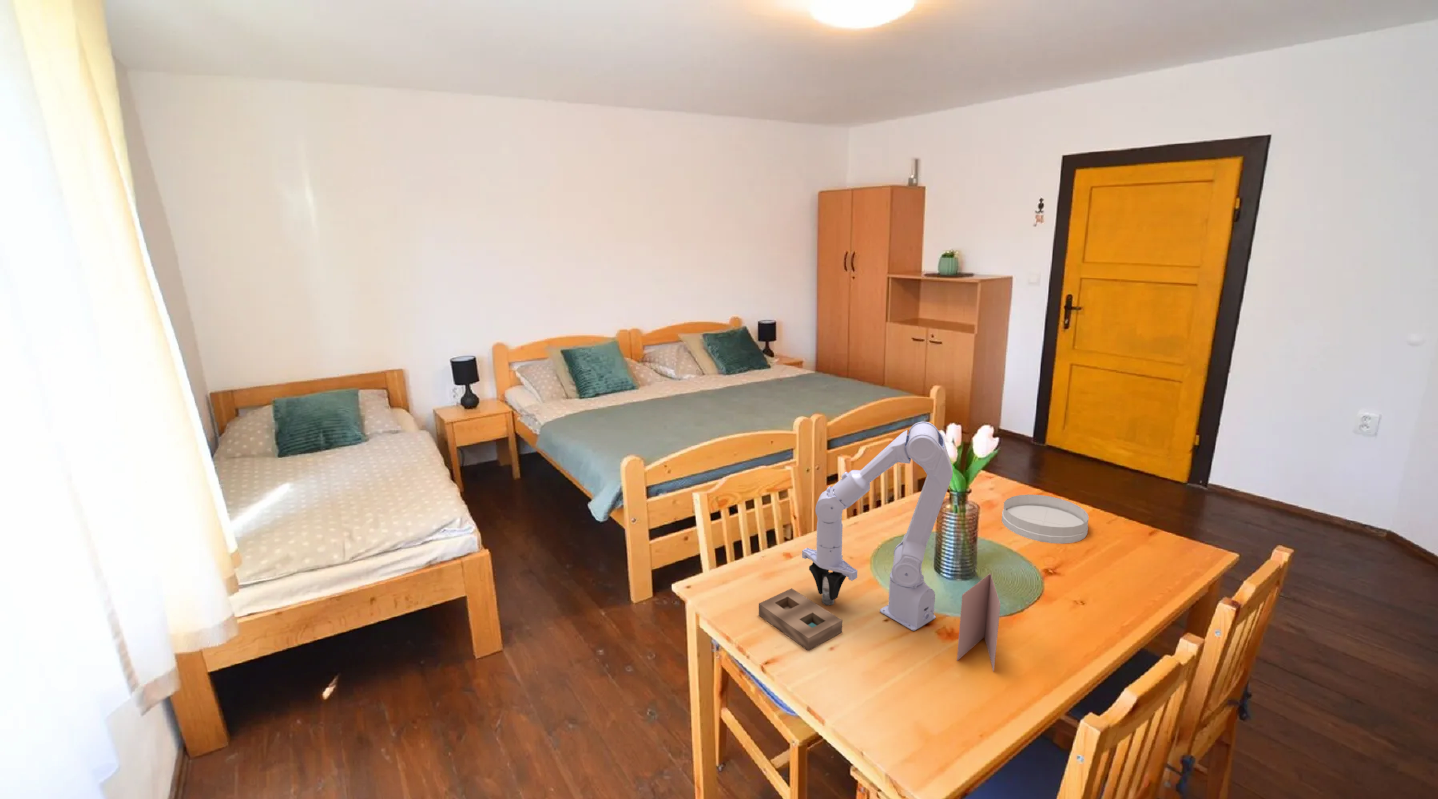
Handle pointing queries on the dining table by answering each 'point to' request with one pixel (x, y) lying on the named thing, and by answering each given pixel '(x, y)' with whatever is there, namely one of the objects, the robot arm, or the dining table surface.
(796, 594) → the hole block
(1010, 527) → the dish
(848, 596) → the dining table surface
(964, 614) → the greeting card
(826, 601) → the pin
